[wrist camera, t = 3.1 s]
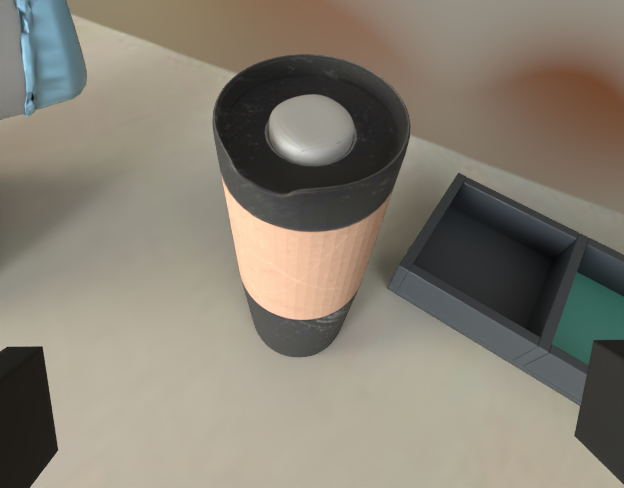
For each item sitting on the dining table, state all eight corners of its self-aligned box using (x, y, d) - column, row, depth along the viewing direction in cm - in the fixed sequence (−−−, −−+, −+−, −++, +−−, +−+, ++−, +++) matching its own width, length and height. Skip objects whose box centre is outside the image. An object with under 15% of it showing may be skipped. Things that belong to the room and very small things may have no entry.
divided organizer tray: (387, 288, 33) (398, 265, 30) (443, 200, 39) (458, 172, 35) (666, 458, 28) (721, 454, 24) (686, 328, 33) (734, 309, 30)
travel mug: (329, 262, 34) (371, 42, 17) (359, 346, 31) (450, 169, 14) (241, 283, 33) (194, 63, 16) (261, 373, 29) (228, 213, 12)
